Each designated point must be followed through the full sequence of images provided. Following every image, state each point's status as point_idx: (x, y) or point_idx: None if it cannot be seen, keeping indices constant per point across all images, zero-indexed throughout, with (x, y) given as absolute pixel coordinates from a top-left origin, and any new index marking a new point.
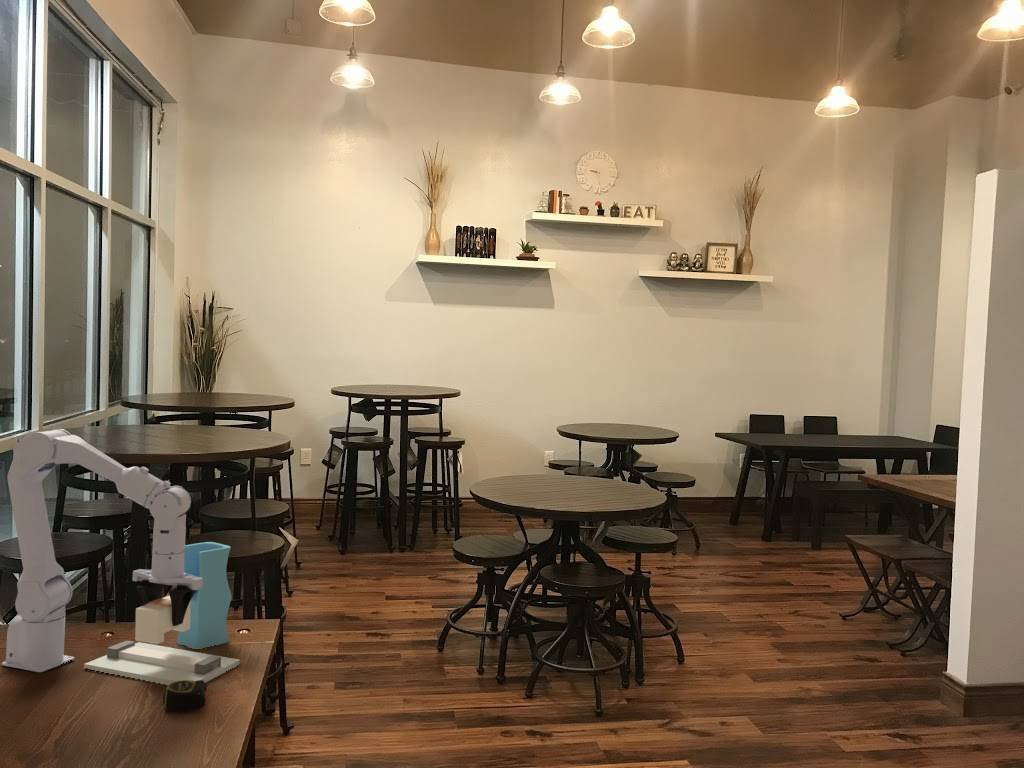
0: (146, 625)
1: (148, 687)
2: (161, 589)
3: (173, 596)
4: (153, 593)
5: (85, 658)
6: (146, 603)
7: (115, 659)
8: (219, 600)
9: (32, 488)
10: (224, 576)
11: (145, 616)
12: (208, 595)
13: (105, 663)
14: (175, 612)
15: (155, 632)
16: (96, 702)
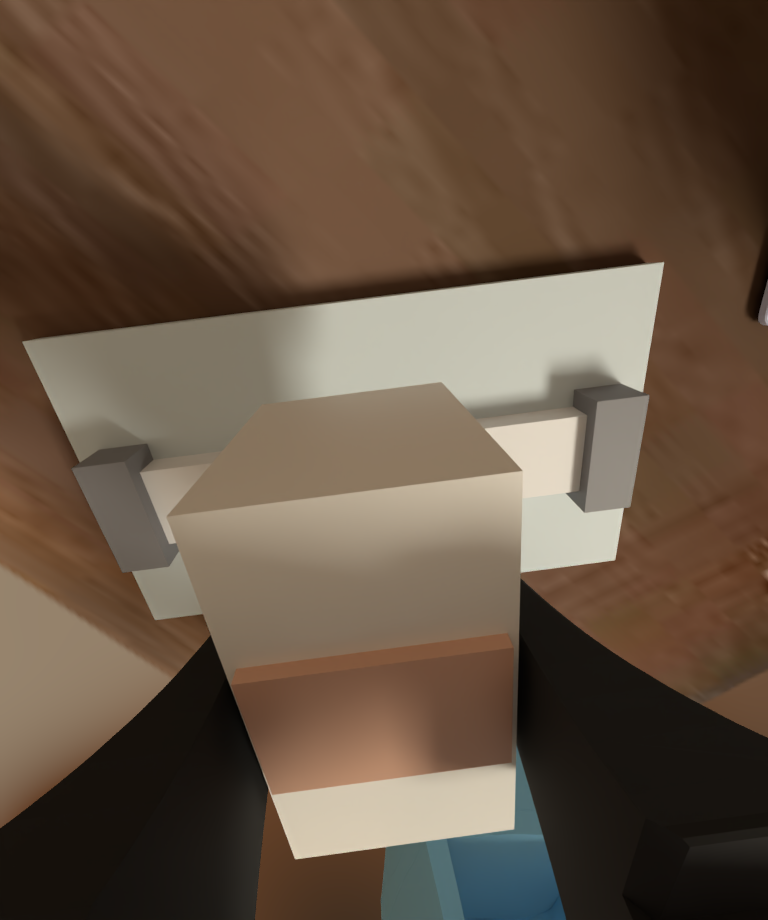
0: (352, 429)
1: (216, 253)
2: (563, 882)
3: (62, 840)
4: (564, 793)
5: (721, 366)
6: (549, 639)
7: (568, 384)
8: (395, 879)
9: None
10: None
11: (366, 458)
12: (419, 901)
13: (575, 323)
14: (202, 652)
15: (262, 425)
16: None
